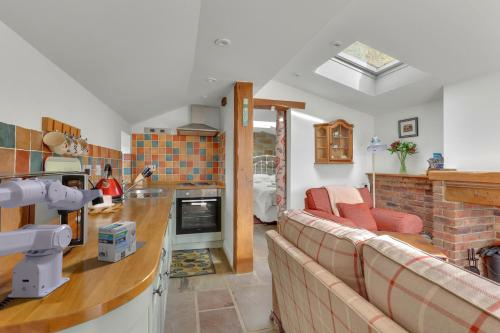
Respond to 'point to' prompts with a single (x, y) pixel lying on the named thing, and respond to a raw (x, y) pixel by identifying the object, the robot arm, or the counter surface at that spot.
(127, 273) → the counter surface
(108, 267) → the counter surface
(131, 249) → the light bulb box
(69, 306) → the counter surface
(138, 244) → the mat
